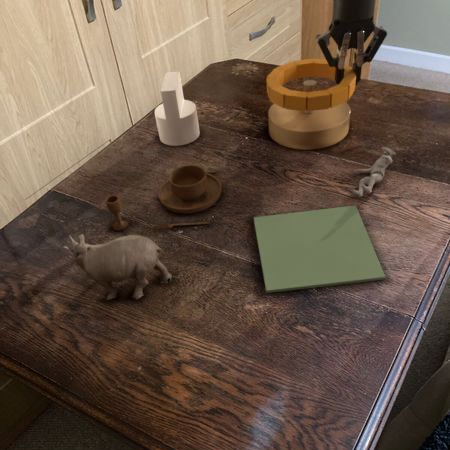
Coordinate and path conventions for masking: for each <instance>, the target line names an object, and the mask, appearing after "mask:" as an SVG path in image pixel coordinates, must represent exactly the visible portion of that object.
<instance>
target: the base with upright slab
mask: <svg viewBox="0 0 450 450" xmlns="http://www.w3.org/2000/svg"><path fill="white" fill-rule="evenodd" d="M160 96H161V101H162V103H161V104H159V105H158V106H157V107H155V109H154V116H155V122H156V128H157V131H158V137H159V140H160V142H161V143H163V144H165V145H167V146H171V147H179V146H184V145H188V144H191V143H193V142H195V141H196V140H197V139H198V138H199V137H200V134H201V131H200V126H199V118H198V110H197V104H195V102H194V101H192V100H188V99H185V97H184V91H183V84H182V78H181V72H180V71H169V72H165V74H164V77H163V81H162V84H161V89H160Z"/></svg>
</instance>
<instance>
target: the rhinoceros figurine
mask: <svg viewBox="0 0 450 450" xmlns="http://www.w3.org/2000/svg"><path fill="white" fill-rule="evenodd" d="M68 238H69V239H70V241H71V248H69V247H68V246H65V245H64V246H62V249H64V250H70V252H71V253H72V254H73V255H74V257H75V259H74V263H76V265H77V266H78V267H79V268H80V269H81V270H82V271H84V272H85V274H86V276H87V277H88V278H89V279H90V280H93V281H95V282H96V284H97V285H99V287H102V288H104V289H105V290H106V291H107V292H108V295H107V297H106V301H110V300H112V299H116V298H117V297H118V295H117V294H118V290H117V289H116V287H114V285H113V283H123V282H124V281H127V280H131V279H133V280H135V281H136V285H135V288H134V292H133V295H132V296H131V298H132V297H133V298H134V299H136V300H138V299H140V298H141V297H143V296H145V295H144V293H143V289H144V288H146V286H148V285H149V280H147V275H148V274H149V273H151V271H152V270H155V271H157V272H159V273H160V274H161V278H160V283H161V284H169V283H170V282H171V281H172V277H173V276H172V274H171V273H170V272H169V271H168V269H167V267H166V266H165V265H164V263H162V262H161V260H160V259H159V254H161V253H163V248H161V247H160V246H159V245H158V244H157V243H156V242H154V241H153V240H152V239H150V238H149V237H147V236H143V235H139V234H128V235H124V236H123V235H122V236H119V237H117V238H114V239H112V240H110V241H107V242H105V243H102V244H101V243H99V244H89V243H86V242H85V235H84V234H83V233H82V234H80V235H78V237H77V239H78V242H77V241H76V240H75V239H74V238H73V236H71V235H70V234H69V235H68ZM169 279H170V280H169ZM168 280H169V281H168Z"/></svg>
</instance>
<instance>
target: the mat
mask: <svg viewBox="0 0 450 450" xmlns="http://www.w3.org/2000/svg"><path fill="white" fill-rule="evenodd" d="M253 224H254V231H255V236H256V241H257V248H258V253H259V259H260V266H261V271H262V276H263V281H264V288H265V293H266V294H271V293H281V292H289V291H298V290H305V289H307V290H308V289H317V288H323V287H332V286H341V285H349V284H350V285H351V284H358V283H368V282H376V281H384V280H386V275H385V272H384V270H383V267H382V265H381V263H380V261H379V258H378V256H377V253H376V251H375V249H374V245H373V244H372V242H371V238H370V236H369V234H368V232H367V229H366V227H365V225H364V222H363V220H362V216H361V214H360V212H359V210H358V208H357V206H356V205H354V204H353V205H347V206H340V207H331V208H322V209H313V210H306V211H297V212H288V213H279V214H272V215H261V216H254V217H253Z"/></svg>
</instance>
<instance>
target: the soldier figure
mask: <svg viewBox="0 0 450 450" xmlns="http://www.w3.org/2000/svg"><path fill="white" fill-rule="evenodd" d="M381 150H382V154H381V155H380V156H379V157H378V159H377V160H375V162H374V163H373V165H371V167H369V168H361V169H355V170H354V171H353V173H356V175H358V174H360V173H361V174H370V176H365V177H363V178H361V179H360V180H359V182H358V190H355V189H351V193H352V194H353V195H354V196H357V197H358V198H363V194H364V191H365V192H366V193H367V194H372V192H373V191H372V190H373V187H374V185H375V184H377V183H379V182H381V181H382V180H383V179H384V177H385V171H386V170H387V169H388V166H389V165H390V164H392V163H393V161H394V160H393V158H392V157H393V156H397V153H396V152H395V151H394V150H393V149H391V148H389V147H386V146H382V147H381Z"/></svg>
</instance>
